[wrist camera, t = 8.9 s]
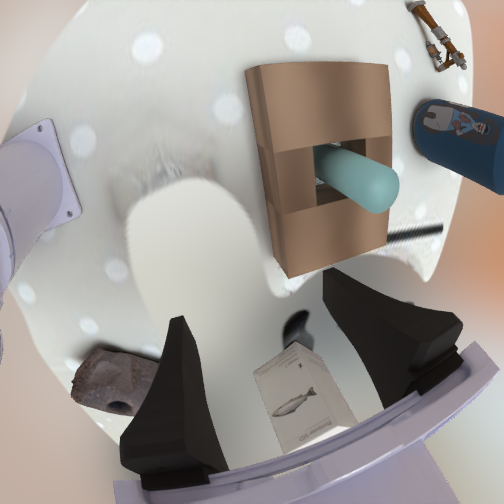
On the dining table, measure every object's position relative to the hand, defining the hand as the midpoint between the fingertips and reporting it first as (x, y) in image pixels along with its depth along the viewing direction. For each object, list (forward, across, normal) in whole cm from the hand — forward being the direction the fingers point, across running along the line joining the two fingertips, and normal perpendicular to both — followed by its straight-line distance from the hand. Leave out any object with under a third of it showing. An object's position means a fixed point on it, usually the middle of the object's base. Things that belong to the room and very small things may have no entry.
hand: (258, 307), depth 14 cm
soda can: (+11, -23, -5) cm, 26 cm away
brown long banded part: (+11, -24, -15) cm, 30 cm away
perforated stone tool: (+11, +13, +14) cm, 22 cm away
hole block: (+10, -9, -3) cm, 14 cm away
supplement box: (+11, -4, +23) cm, 26 cm away
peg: (+10, -9, -3) cm, 14 cm away
